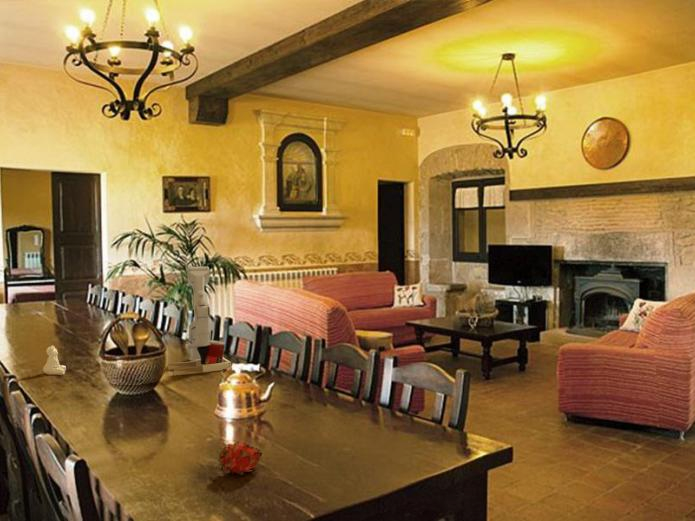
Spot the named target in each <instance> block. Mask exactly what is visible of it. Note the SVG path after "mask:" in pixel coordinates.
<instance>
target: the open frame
mask: <svg viewBox="0 0 695 521" xmlns="http://www.w3.org/2000/svg"><path fill="white" fill-rule="evenodd" d="M195 361H196V367H197V366H203V372H202V373H208V372H217V371H218V372H219V371H224V370H223V369H224V368H226V367H230V366H231V367H232V362H231V361H230V360H229V359H226V358H225V357H223V358H222V363H216V364H207V365H203V364H201V359H197V360H195Z"/></svg>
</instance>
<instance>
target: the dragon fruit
mask: <svg viewBox="0 0 695 521" xmlns="http://www.w3.org/2000/svg"><path fill="white" fill-rule="evenodd" d="M262 455H263V452H261V450H260V448H259V447H256V446H253V445H251V446H250V444H249V442H248V441H244V442H243V443H240V441H237V442H235V443H233V444H231V443H227V444H226V446H224V447H223V448H222V451H220V453H219V459H218V462H219V465H220V466H221V469H220V470H221V471H222V472H229V474H230V473H232V474H231V475H234V474H235V473H236V474H237V475H240V476H243V475H244V473H247V472H248V473H251V472H250V470H252V472H254V471H253V470H256V466H257V465H258V463H259V462H260V460H261V459H262V457H263V456H262Z"/></svg>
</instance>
